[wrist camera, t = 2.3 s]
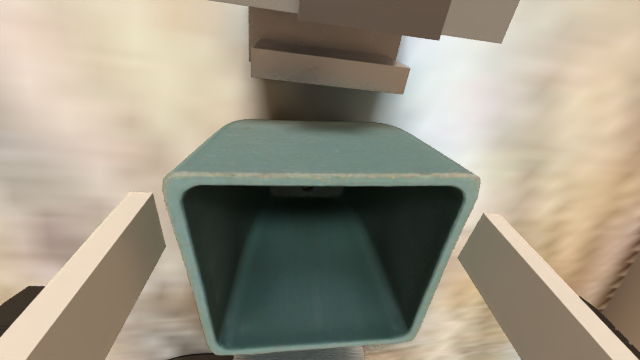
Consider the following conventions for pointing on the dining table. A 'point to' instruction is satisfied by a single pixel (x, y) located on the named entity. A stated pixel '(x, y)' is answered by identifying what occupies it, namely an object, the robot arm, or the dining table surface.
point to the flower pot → (315, 232)
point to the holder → (355, 58)
